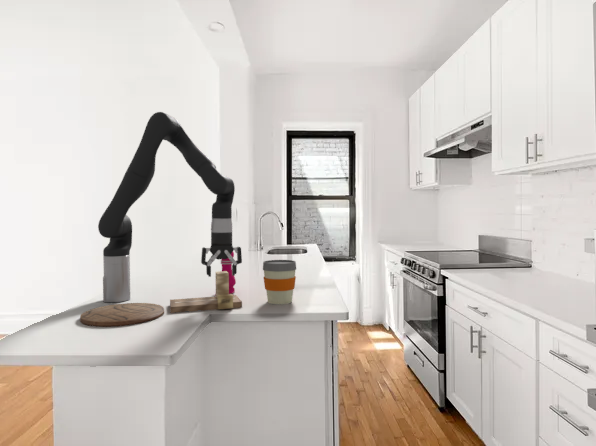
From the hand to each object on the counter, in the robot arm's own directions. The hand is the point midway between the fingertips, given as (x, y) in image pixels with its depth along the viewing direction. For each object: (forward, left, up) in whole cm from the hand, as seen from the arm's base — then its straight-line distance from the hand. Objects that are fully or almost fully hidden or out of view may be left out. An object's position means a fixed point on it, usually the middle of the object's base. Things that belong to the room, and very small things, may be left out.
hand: (221, 275), depth 148 cm
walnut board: (-6, 0, -11) cm, 12 cm away
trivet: (-32, -5, -11) cm, 35 cm away
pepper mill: (+5, +22, -11) cm, 25 cm away
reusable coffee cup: (+21, -2, -11) cm, 24 cm away
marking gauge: (0, -2, -10) cm, 10 cm away
